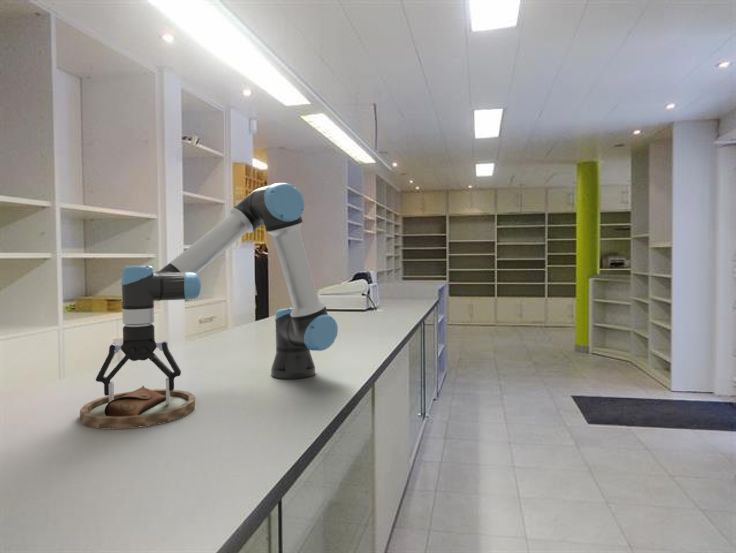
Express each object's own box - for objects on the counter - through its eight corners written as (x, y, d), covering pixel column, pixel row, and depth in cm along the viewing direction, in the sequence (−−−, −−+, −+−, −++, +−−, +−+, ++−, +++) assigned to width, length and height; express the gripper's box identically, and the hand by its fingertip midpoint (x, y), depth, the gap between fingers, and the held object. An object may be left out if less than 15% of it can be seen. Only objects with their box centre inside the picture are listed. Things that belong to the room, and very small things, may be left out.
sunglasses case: (137, 416, 124) (123, 392, 124) (114, 430, 124) (99, 407, 124) (170, 396, 142) (157, 376, 142) (149, 409, 142) (137, 389, 142)
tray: (196, 394, 150) (196, 386, 150) (193, 422, 124) (193, 412, 124) (94, 402, 142) (94, 393, 142) (68, 434, 116) (68, 423, 116)
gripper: (189, 321, 140) (191, 397, 140) (88, 324, 132) (90, 405, 133) (188, 324, 133) (190, 404, 133) (81, 328, 125) (83, 413, 126)
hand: (140, 405), depth 133 cm, fingers open, 13 cm apart
